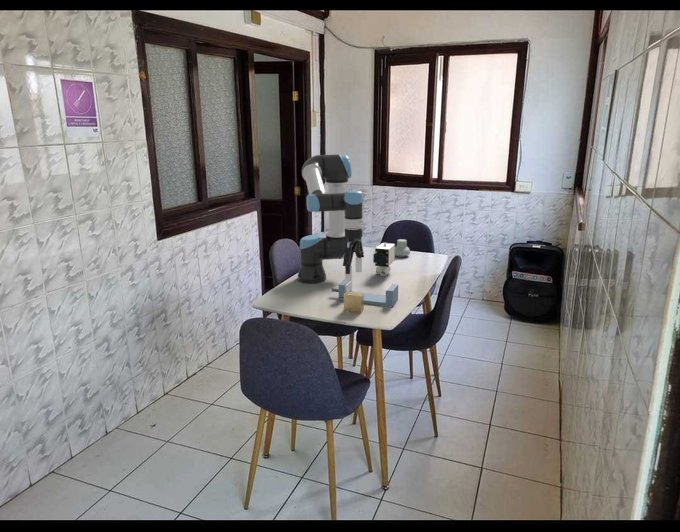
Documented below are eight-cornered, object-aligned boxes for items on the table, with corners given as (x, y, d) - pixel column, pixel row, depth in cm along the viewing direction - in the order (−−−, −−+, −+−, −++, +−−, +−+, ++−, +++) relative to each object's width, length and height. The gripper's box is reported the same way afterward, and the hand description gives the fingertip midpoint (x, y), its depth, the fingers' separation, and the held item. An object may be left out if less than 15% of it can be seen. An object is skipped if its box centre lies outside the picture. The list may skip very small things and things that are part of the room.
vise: (338, 300, 229) (338, 285, 227) (345, 293, 238) (345, 278, 236) (392, 306, 220) (392, 291, 218) (398, 299, 229) (398, 284, 227)
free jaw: (328, 295, 230) (328, 283, 228) (336, 289, 239) (336, 277, 237) (345, 297, 227) (345, 285, 225) (352, 290, 236) (352, 279, 234)
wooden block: (343, 311, 216) (343, 294, 213) (346, 308, 219) (346, 291, 217) (361, 313, 213) (361, 296, 211) (363, 310, 216) (363, 293, 214)
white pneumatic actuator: (380, 269, 276) (381, 238, 272) (395, 270, 274) (396, 239, 269) (371, 278, 260) (371, 246, 255) (386, 280, 257) (387, 247, 252)
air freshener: (411, 257, 300) (411, 241, 297) (398, 258, 298) (398, 242, 295) (404, 253, 310) (405, 238, 307) (392, 254, 308) (392, 238, 305)
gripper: (352, 234, 193) (352, 285, 199) (370, 223, 216) (370, 269, 221) (334, 233, 196) (335, 283, 201) (354, 222, 218) (354, 267, 224)
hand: (353, 276), depth 211 cm, fingers open, 13 cm apart
